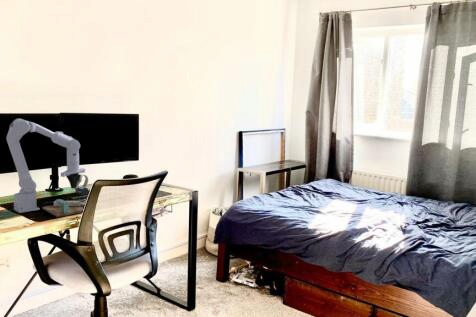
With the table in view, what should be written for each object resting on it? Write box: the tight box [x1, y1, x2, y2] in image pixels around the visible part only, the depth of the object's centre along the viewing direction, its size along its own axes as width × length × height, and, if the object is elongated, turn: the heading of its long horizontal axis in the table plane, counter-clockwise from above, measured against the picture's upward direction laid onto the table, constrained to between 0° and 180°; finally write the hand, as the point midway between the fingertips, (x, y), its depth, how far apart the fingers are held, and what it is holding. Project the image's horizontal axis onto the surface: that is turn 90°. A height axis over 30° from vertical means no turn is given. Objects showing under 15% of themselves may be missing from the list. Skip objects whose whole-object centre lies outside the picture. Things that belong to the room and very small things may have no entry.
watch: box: [74, 173, 89, 196], centre depth 236 cm, size 6×8×11 cm
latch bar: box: [53, 198, 87, 206], centre depth 208 cm, size 16×4×3 cm, turn 101°
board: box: [41, 199, 84, 218], centre depth 207 cm, size 21×17×1 cm
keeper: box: [55, 198, 69, 213], centre depth 200 cm, size 2×9×5 cm, turn 47°
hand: (73, 188), depth 214 cm, fingers closed
